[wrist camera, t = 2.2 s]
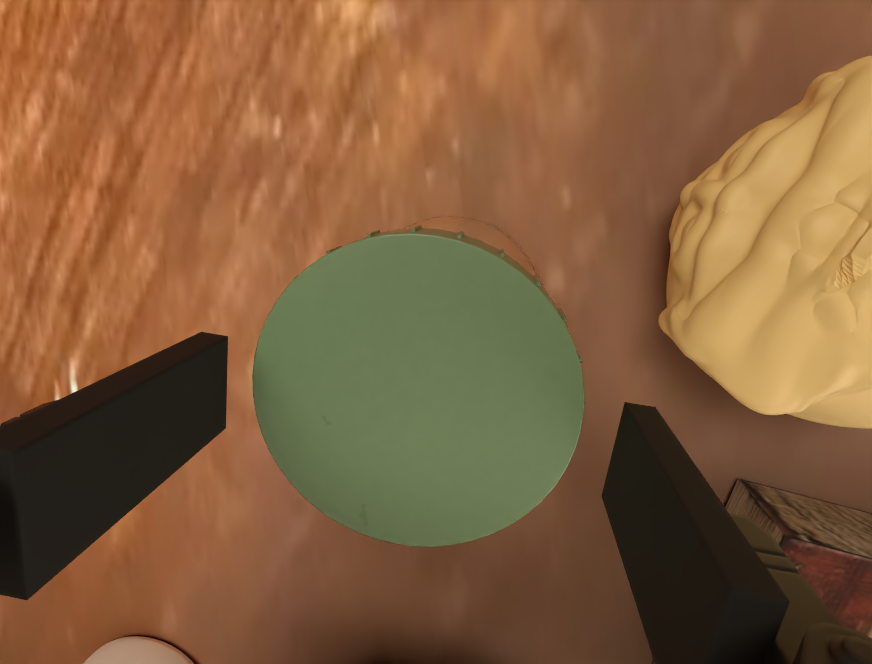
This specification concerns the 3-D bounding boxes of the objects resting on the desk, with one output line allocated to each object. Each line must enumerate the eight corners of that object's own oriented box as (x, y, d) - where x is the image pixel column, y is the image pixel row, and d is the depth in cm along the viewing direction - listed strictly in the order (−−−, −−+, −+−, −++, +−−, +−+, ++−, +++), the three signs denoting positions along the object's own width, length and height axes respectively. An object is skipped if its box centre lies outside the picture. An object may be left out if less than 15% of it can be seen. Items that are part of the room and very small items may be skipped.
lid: (269, 486, 18) (245, 517, 17) (283, 205, 16) (256, 207, 14) (545, 537, 18) (550, 574, 16) (607, 251, 15) (621, 259, 13)
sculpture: (731, 60, 22) (932, -49, 12) (981, 193, 22) (1392, 198, 12) (588, 298, 26) (648, 375, 15) (807, 412, 26) (1014, 563, 15)
